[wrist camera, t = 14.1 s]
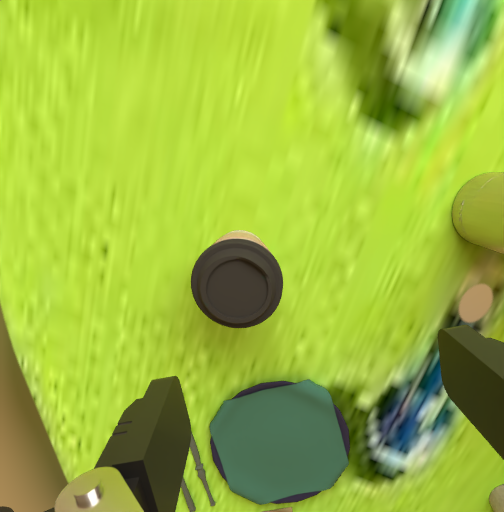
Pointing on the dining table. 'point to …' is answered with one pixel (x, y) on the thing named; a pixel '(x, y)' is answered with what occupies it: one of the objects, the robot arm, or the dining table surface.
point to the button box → (281, 510)
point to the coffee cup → (237, 281)
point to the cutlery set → (277, 443)
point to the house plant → (497, 499)
